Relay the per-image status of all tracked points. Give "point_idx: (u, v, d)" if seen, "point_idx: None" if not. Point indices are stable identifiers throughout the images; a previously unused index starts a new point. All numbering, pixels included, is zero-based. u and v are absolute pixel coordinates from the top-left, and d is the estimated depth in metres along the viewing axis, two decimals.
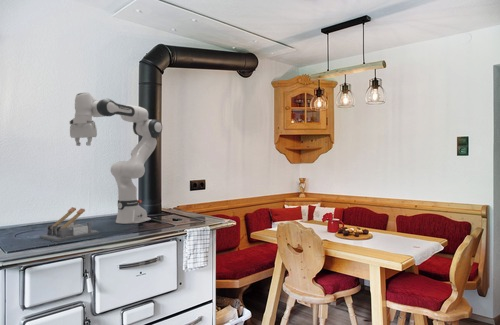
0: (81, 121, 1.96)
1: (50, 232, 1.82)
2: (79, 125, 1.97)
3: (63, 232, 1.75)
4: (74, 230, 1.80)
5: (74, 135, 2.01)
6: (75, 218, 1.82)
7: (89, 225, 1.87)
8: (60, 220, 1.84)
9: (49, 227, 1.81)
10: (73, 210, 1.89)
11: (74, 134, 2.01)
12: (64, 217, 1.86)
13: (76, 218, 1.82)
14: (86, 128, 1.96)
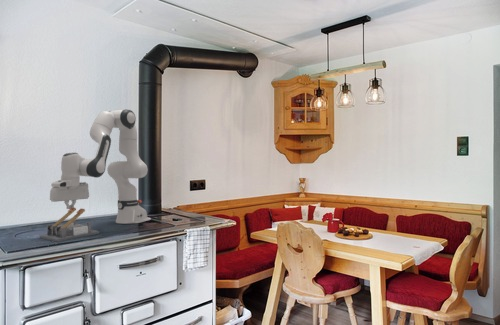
0: (79, 183, 1.90)
1: (50, 232, 1.82)
2: (75, 188, 1.88)
3: (63, 232, 1.75)
4: (74, 230, 1.80)
5: (62, 198, 1.83)
6: (75, 218, 1.82)
7: (89, 225, 1.87)
8: (60, 220, 1.84)
9: (49, 227, 1.81)
10: (73, 210, 1.89)
11: (62, 197, 1.84)
12: (64, 217, 1.86)
13: (76, 218, 1.82)
14: (81, 190, 1.93)
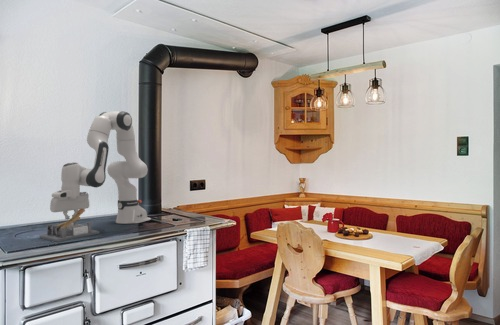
0: (79, 193, 1.90)
1: (50, 232, 1.82)
2: (75, 198, 1.88)
3: (63, 232, 1.75)
4: (74, 230, 1.80)
5: (62, 209, 1.84)
6: (75, 218, 1.82)
7: (89, 225, 1.87)
8: (62, 223, 1.85)
9: (49, 227, 1.81)
10: (77, 218, 1.91)
11: (63, 207, 1.84)
12: None
13: (76, 218, 1.82)
14: (81, 200, 1.93)
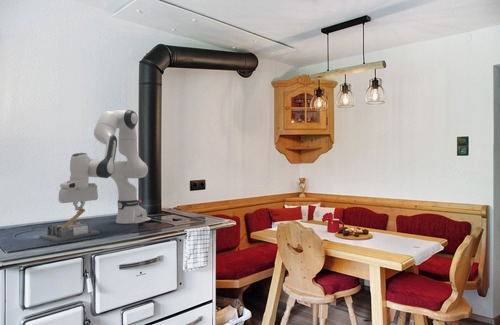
0: (88, 184, 1.86)
1: (50, 232, 1.82)
2: (84, 189, 1.84)
3: (63, 232, 1.75)
4: (74, 230, 1.80)
5: (70, 200, 1.79)
6: (75, 218, 1.82)
7: (89, 225, 1.87)
8: None
9: None
10: None
11: (71, 198, 1.79)
12: None
13: (76, 218, 1.83)
14: (90, 191, 1.88)
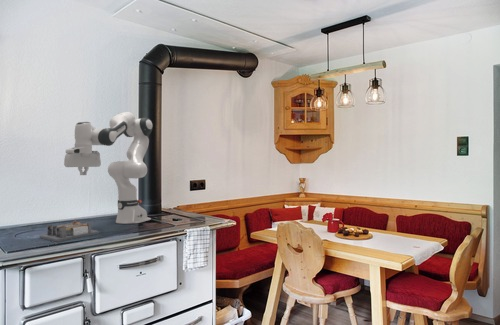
0: (91, 151, 1.99)
1: (50, 232, 1.82)
2: (88, 155, 1.97)
3: (63, 232, 1.75)
4: (74, 230, 1.80)
5: (75, 164, 1.92)
6: None
7: (89, 225, 1.87)
8: (62, 226, 1.85)
9: None
10: None
11: (76, 163, 1.93)
12: (67, 225, 1.87)
13: None
14: (93, 158, 2.02)
